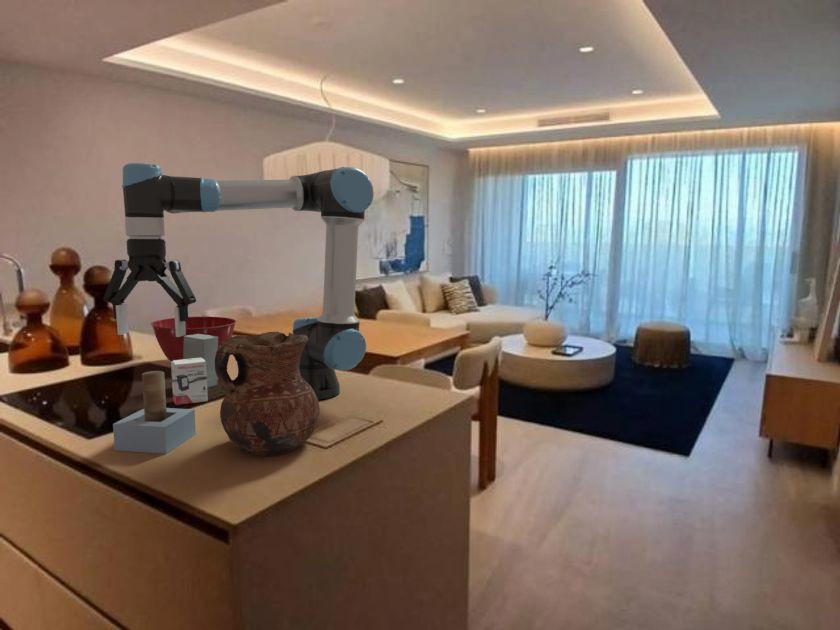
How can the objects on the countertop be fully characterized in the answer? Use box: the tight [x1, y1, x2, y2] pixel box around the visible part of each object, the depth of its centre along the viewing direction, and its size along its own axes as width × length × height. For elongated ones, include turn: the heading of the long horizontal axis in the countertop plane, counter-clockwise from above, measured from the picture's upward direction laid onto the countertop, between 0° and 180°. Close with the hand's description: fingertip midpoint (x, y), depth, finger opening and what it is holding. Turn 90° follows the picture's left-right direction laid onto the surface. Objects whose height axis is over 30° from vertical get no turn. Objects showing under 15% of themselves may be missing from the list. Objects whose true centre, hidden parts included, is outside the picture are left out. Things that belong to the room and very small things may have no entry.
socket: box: [112, 407, 197, 455], centre depth 124 cm, size 12×12×6 cm
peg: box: [141, 370, 167, 422], centre depth 123 cm, size 4×4×16 cm
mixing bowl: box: [150, 316, 237, 362], centre depth 198 cm, size 28×28×15 cm
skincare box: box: [183, 334, 218, 389], centre depth 169 cm, size 8×7×16 cm
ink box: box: [170, 358, 209, 406], centre depth 153 cm, size 8×5×12 cm, turn 123°
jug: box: [215, 331, 321, 457], centre depth 121 cm, size 22×21×25 cm
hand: (151, 334), depth 121 cm, fingers open, 13 cm apart
